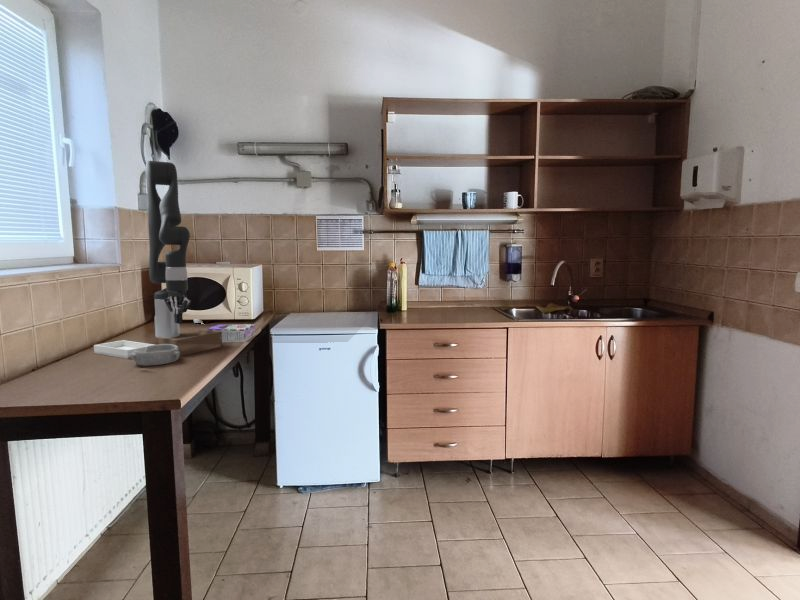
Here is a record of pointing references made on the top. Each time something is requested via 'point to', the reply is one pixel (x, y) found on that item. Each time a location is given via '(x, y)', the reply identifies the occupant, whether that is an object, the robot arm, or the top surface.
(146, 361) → the dish
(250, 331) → the candy box
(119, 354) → the tray
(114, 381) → the top surface
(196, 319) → the mug
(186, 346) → the bay
